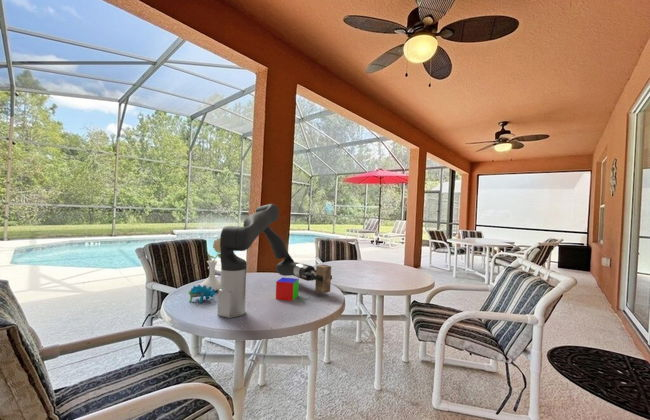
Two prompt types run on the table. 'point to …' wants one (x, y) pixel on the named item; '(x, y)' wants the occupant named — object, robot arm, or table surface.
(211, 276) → the flower in vase
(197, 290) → the blue toy dinosaur
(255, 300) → the table surface
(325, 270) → the pillar
